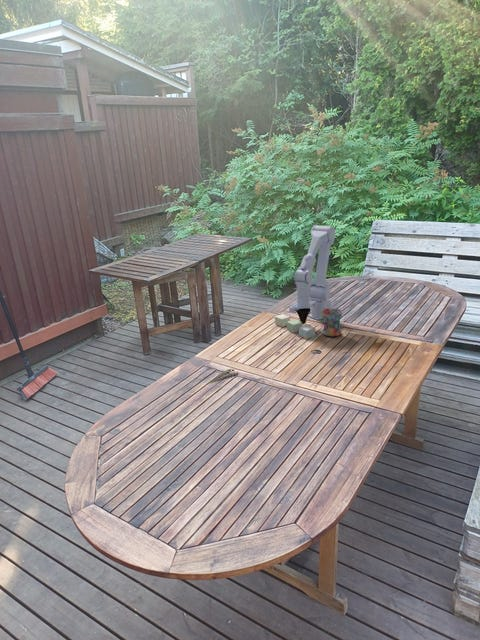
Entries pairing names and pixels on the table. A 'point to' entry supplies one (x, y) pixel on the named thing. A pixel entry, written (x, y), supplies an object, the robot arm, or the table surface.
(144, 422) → the table surface
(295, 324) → the block sage
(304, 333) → the block bluegrey
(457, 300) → the table surface
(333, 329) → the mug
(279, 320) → the block cream
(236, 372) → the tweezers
